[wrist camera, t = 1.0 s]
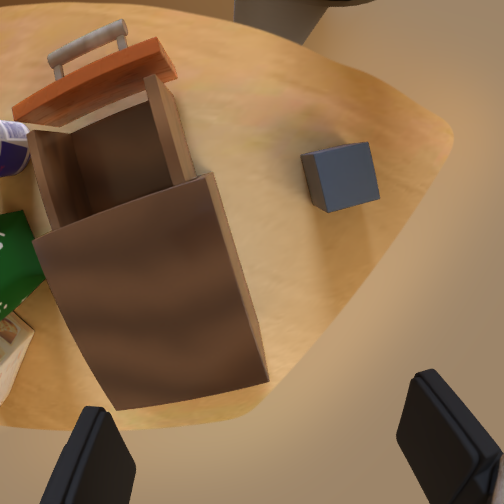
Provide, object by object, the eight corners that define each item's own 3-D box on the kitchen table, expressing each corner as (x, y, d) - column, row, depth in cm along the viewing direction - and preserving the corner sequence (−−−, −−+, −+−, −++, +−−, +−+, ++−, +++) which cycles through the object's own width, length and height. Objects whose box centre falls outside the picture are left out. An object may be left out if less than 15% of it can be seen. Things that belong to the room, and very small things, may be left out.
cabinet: (83, 216, 27) (30, 240, 18) (213, 171, 27) (205, 176, 18) (139, 352, 31) (116, 411, 22) (258, 323, 31) (269, 382, 22)
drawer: (50, 77, 22) (5, 60, 15) (164, 27, 22) (144, -11, 15) (98, 256, 27) (63, 285, 20) (218, 218, 27) (215, 238, 20)
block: (300, 154, 27) (313, 153, 22) (348, 143, 27) (368, 141, 22) (312, 204, 28) (327, 213, 24) (359, 192, 28) (380, 198, 24)
